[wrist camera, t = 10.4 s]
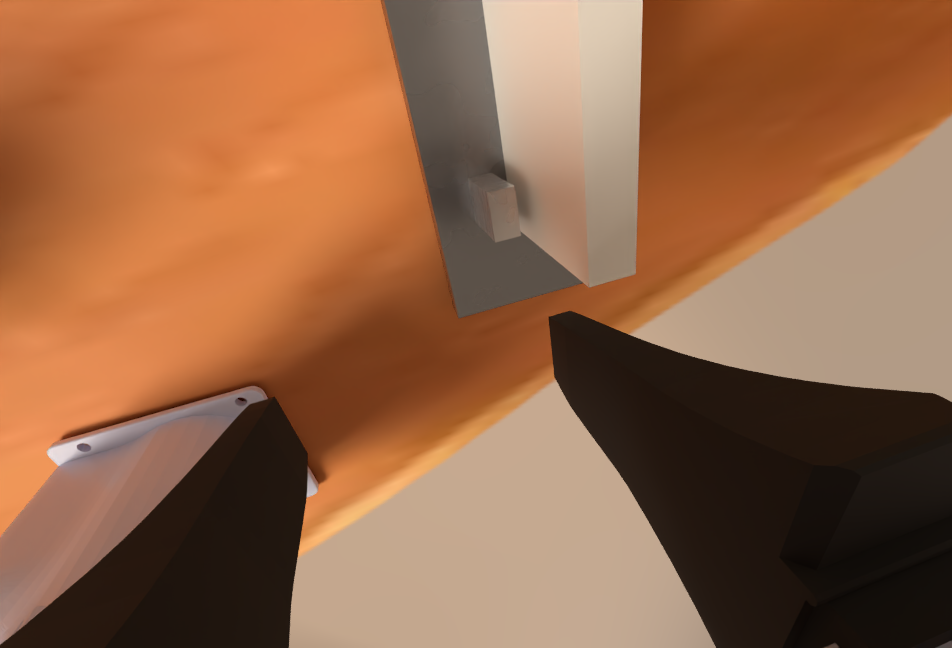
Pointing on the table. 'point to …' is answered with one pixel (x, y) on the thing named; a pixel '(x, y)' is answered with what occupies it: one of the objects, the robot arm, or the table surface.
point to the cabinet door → (571, 126)
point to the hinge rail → (465, 155)
